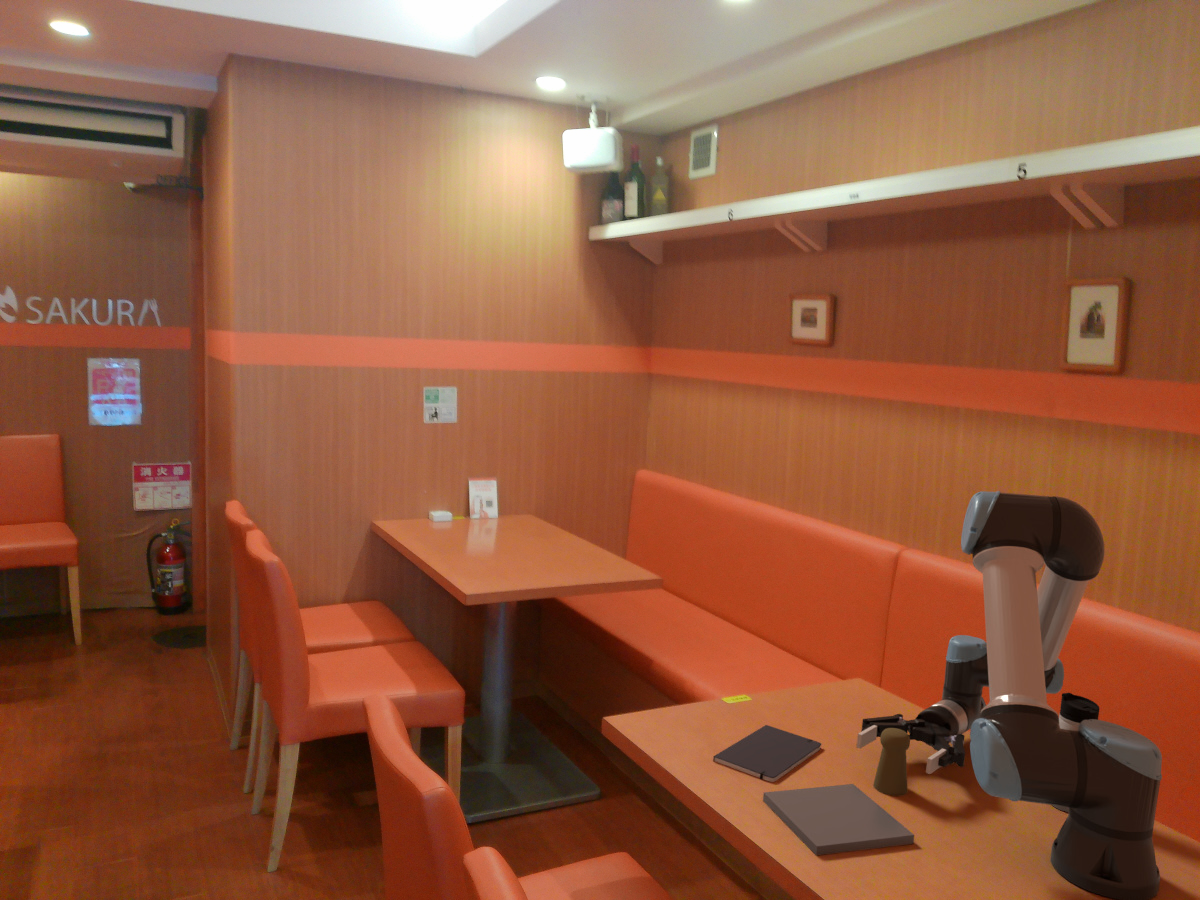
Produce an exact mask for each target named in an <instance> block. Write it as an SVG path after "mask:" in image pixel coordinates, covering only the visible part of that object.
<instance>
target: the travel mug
mask: <svg viewBox="0 0 1200 900" xmlns="http://www.w3.org/2000/svg"><path fill="white" fill-rule="evenodd" d="M1100 708H1101V707H1100V706H1099V705H1098V703H1096V702H1094V701H1093V700H1092V699H1089V698H1087V697H1084V696H1081V695H1077V694H1073V693H1071V692H1063V693H1061V702H1060V709H1059V713H1058V716H1059V725H1060V729H1066V730H1073V731H1078V726H1079V725H1080V723H1081V722H1082V721H1083V720H1089V719H1096V720H1099V717H1100ZM1052 807H1054V808H1055V809H1057V810H1060V811H1062V812H1064V811H1065V812H1064V813H1068V814H1069V807H1064V806H1056V805H1052Z"/></svg>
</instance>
